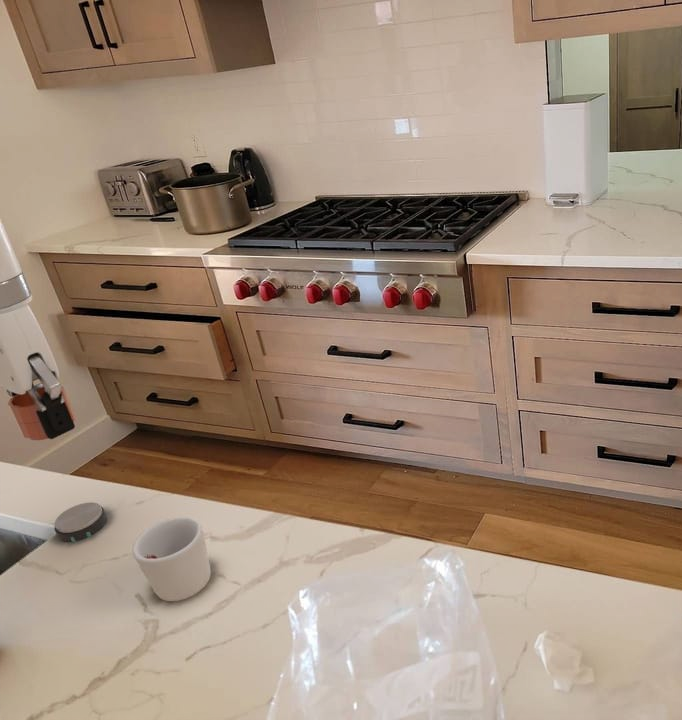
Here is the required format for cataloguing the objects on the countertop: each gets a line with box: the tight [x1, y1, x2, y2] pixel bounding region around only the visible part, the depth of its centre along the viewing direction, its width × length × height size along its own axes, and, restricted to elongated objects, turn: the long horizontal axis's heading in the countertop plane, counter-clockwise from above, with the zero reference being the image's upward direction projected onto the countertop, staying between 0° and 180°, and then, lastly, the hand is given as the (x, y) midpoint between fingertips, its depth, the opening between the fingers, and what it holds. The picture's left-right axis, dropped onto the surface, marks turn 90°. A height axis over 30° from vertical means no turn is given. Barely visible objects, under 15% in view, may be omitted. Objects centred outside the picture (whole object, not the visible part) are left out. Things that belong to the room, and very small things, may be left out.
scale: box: [54, 502, 108, 543], centre depth 97 cm, size 6×6×3 cm
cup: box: [132, 516, 211, 602], centre depth 85 cm, size 11×8×8 cm
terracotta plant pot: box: [7, 385, 76, 441], centre depth 86 cm, size 6×6×5 cm
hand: (48, 425), depth 86 cm, fingers closed on terracotta plant pot, 6 cm apart
